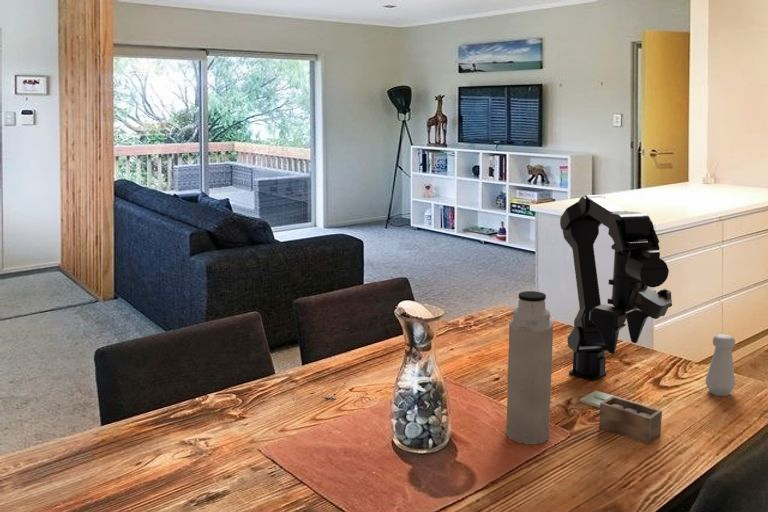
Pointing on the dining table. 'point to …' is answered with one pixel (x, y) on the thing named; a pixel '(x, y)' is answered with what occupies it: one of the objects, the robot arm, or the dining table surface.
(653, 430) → the box
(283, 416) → the dining table surface
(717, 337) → the salt shaker
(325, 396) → the fork
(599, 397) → the lid
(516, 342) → the thermos bottle
